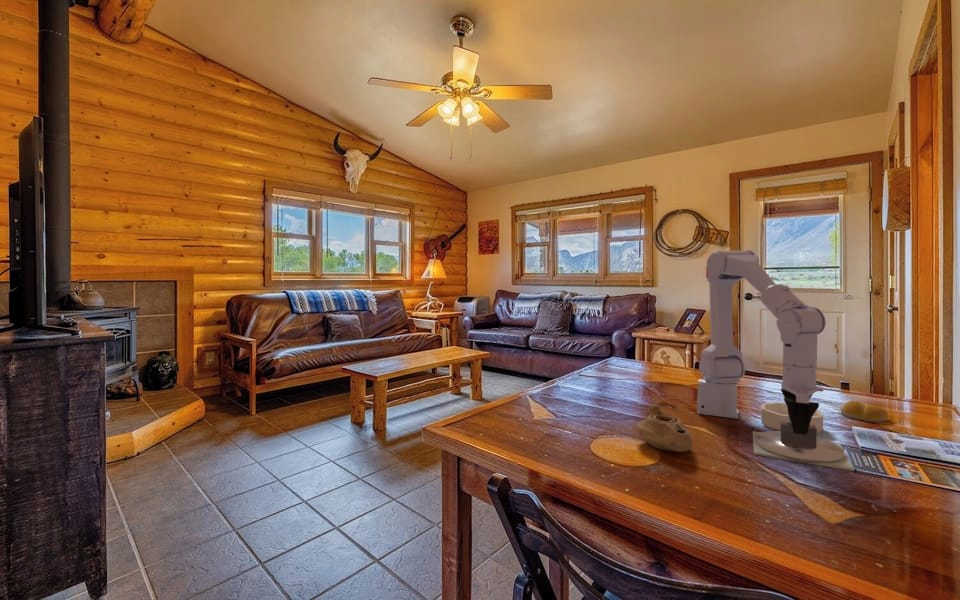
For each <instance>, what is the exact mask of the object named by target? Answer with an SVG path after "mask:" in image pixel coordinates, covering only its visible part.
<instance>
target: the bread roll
mask: <svg viewBox="0 0 960 600" xmlns="http://www.w3.org/2000/svg"><path fill="white" fill-rule="evenodd" d="M840 414H841V415H842V416H844V417H848V418H849V419H850V418H851V419H854V420H859V421H860V420H863V421H865V422H869V423H870V422H872V423H882V422H887V421H888V419H889V415H888V414H889V413H888V412H887V410H886V409H885V408H883V407H882V406H879V405H875V404H864V403H862V402H860V401H855V400H850V401H846V402H845V403H844V404H843V405H842V406H841V408H840Z"/></svg>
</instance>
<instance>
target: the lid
mask: <svg viewBox="0 0 960 600" xmlns="http://www.w3.org/2000/svg"><path fill="white" fill-rule="evenodd" d="M817 435H818V434H817V429H816V427H815V426H813V425H809V429H808V432H807V434H806V435H802V434H796V433H794V432H793V428H792V423H791V422H783V421H780V431H778V430H769V431H762V432H761V433H759V434H757V435H756V443H757V445H758V446H759V447H761V448H762V449H764V450H766V451H768V452H770V453H773V454H776V455H779V456H782V457H785V458H789V459H793V460H798V461H803V462H811V463H835V462H839V461H841V460H843V459H844V452H845V450H844V448H843V447H842V446H841V447H842V448H843V449H842V448H841V447H839V446H838V445H836V444H837V443H836V444H834V442H832V441H829V440H828V439H824V438H821V437H817ZM843 450H844V451H843ZM798 461H797V462H798ZM803 462H802V463H803Z"/></svg>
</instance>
